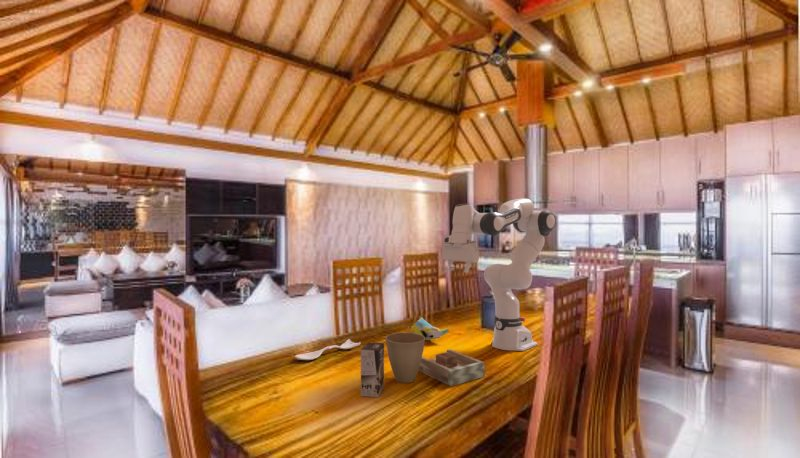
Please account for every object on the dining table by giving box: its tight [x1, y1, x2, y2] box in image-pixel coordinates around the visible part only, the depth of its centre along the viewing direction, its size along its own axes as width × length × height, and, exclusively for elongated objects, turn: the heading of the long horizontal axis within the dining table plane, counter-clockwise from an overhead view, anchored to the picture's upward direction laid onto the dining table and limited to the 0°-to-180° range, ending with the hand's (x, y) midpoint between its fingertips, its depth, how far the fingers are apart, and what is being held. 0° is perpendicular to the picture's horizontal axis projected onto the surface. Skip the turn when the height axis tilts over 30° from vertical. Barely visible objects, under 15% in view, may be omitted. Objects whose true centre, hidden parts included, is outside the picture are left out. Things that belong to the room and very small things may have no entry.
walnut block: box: [435, 351, 457, 368], centre depth 165 cm, size 6×6×4 cm
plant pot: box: [385, 332, 426, 384], centre depth 157 cm, size 15×15×16 cm
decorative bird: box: [406, 317, 450, 341], centre depth 216 cm, size 14×30×9 cm, turn 22°
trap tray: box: [418, 348, 486, 387], centre depth 163 cm, size 17×22×6 cm
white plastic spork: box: [294, 338, 361, 361], centre depth 189 cm, size 9×32×4 cm, turn 135°
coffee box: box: [360, 342, 385, 398], centre depth 145 cm, size 9×6×16 cm
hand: (458, 271), depth 180 cm, fingers open, 8 cm apart
